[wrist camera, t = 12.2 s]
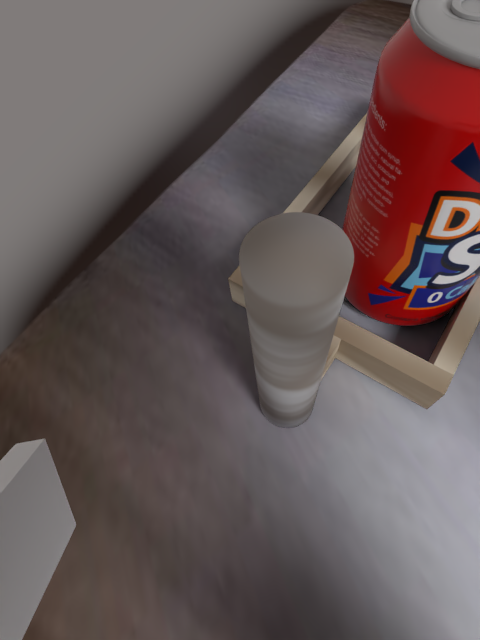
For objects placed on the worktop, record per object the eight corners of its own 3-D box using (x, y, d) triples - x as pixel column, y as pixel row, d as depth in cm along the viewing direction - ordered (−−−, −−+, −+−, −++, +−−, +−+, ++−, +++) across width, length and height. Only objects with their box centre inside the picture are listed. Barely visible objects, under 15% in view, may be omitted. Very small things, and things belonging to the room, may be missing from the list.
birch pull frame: (382, 115, 33) (437, -104, 21) (545, 163, 28) (723, -81, 17) (182, 363, 23) (88, 201, 12) (383, 497, 18) (549, 446, 7)
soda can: (348, 225, 27) (410, -51, 14) (463, 249, 26) (656, -44, 13) (319, 313, 24) (368, 58, 11) (450, 349, 22) (695, 91, 9)
